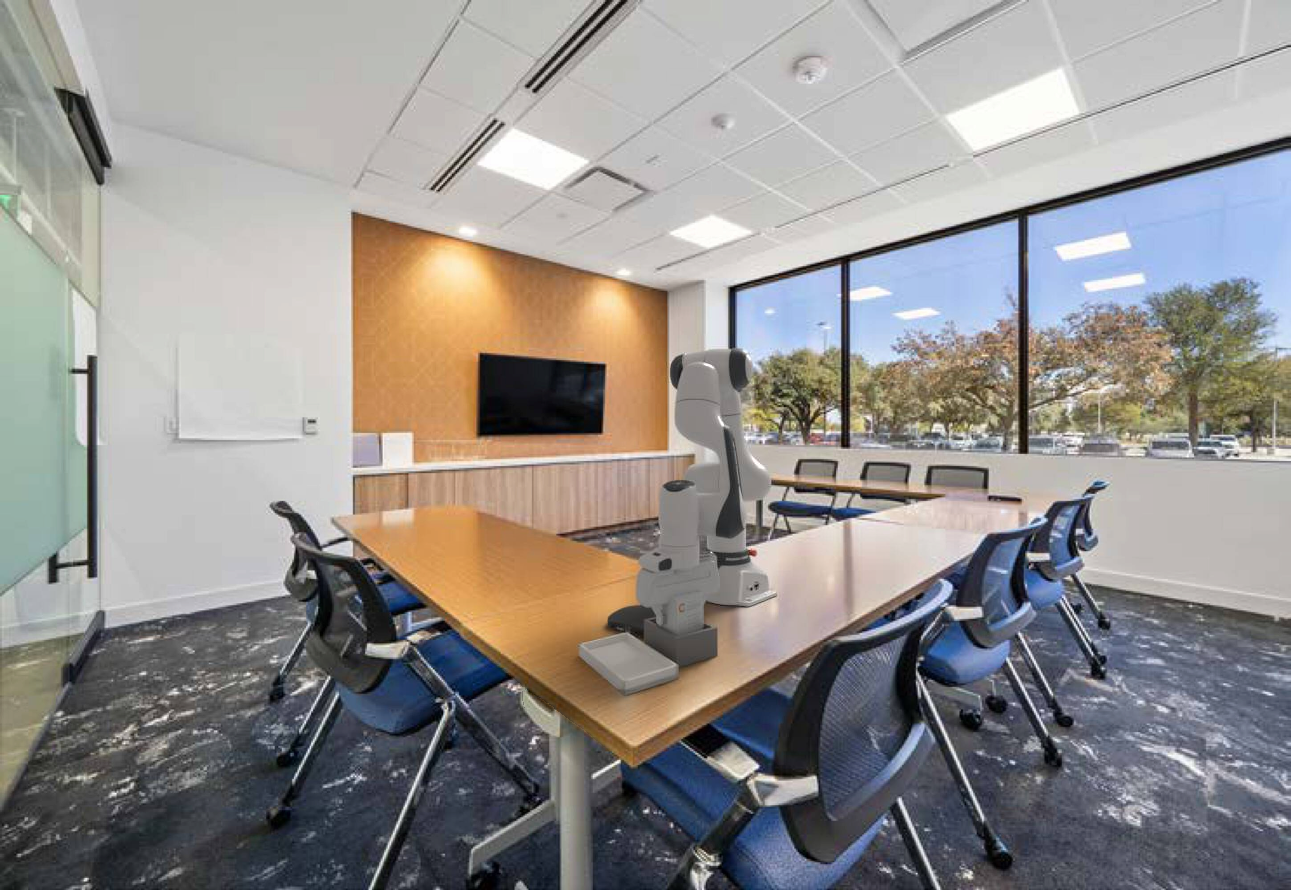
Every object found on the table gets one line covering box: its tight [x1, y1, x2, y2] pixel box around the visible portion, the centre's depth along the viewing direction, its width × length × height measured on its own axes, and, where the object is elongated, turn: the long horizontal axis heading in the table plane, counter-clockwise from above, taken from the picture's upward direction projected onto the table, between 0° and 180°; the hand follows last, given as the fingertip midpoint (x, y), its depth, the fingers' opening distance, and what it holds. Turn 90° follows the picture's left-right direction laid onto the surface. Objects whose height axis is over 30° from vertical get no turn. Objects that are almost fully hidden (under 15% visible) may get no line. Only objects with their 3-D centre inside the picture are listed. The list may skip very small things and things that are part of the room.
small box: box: [658, 591, 705, 636], centre depth 110 cm, size 8×6×13 cm
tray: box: [578, 632, 680, 696], centre depth 104 cm, size 12×20×2 cm, turn 32°
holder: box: [643, 617, 719, 668], centre depth 111 cm, size 11×13×6 cm
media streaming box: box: [607, 604, 656, 639], centre depth 127 cm, size 15×15×3 cm
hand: (679, 619), depth 111 cm, fingers closed on small box, 8 cm apart
